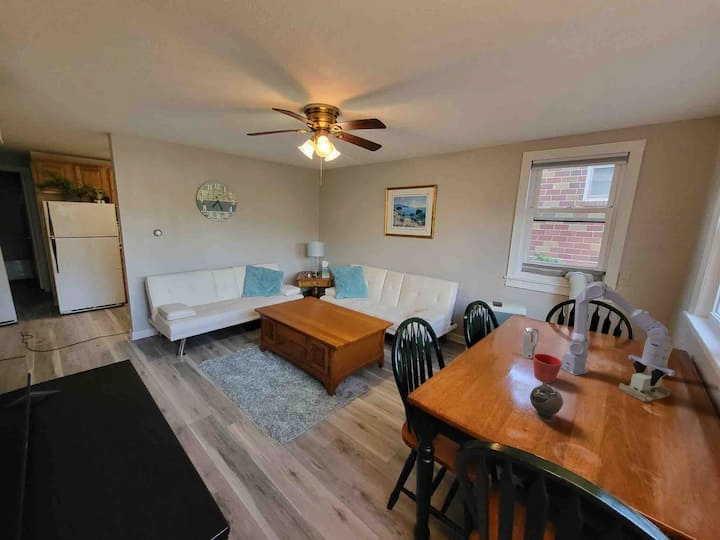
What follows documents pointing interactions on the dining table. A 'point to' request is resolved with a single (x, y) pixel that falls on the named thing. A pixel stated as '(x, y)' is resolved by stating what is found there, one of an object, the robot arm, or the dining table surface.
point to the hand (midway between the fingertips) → (645, 382)
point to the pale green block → (643, 381)
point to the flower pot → (546, 367)
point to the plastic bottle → (665, 354)
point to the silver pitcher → (529, 342)
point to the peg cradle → (645, 392)
